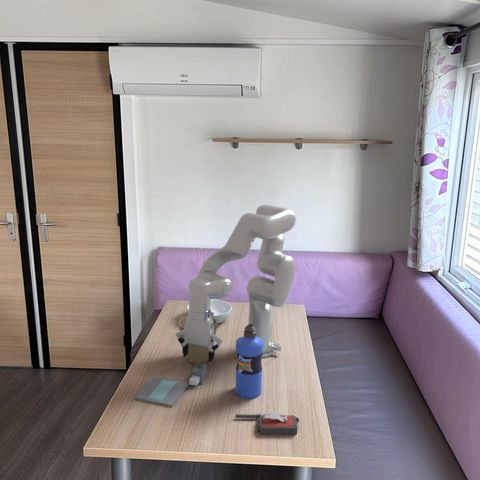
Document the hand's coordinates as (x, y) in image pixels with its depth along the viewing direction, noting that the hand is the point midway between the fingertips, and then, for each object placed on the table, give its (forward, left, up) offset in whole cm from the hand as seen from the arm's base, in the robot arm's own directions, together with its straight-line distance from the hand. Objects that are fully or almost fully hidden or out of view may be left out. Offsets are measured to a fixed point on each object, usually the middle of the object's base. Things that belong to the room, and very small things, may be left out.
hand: (198, 358), depth 166 cm
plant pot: (+6, -14, -9) cm, 17 cm away
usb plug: (0, 0, -9) cm, 9 cm away
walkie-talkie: (-30, +17, -9) cm, 36 cm away
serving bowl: (+15, -50, -9) cm, 53 cm away
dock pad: (+9, +11, -9) cm, 17 cm away
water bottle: (-19, +1, -9) cm, 21 cm away
